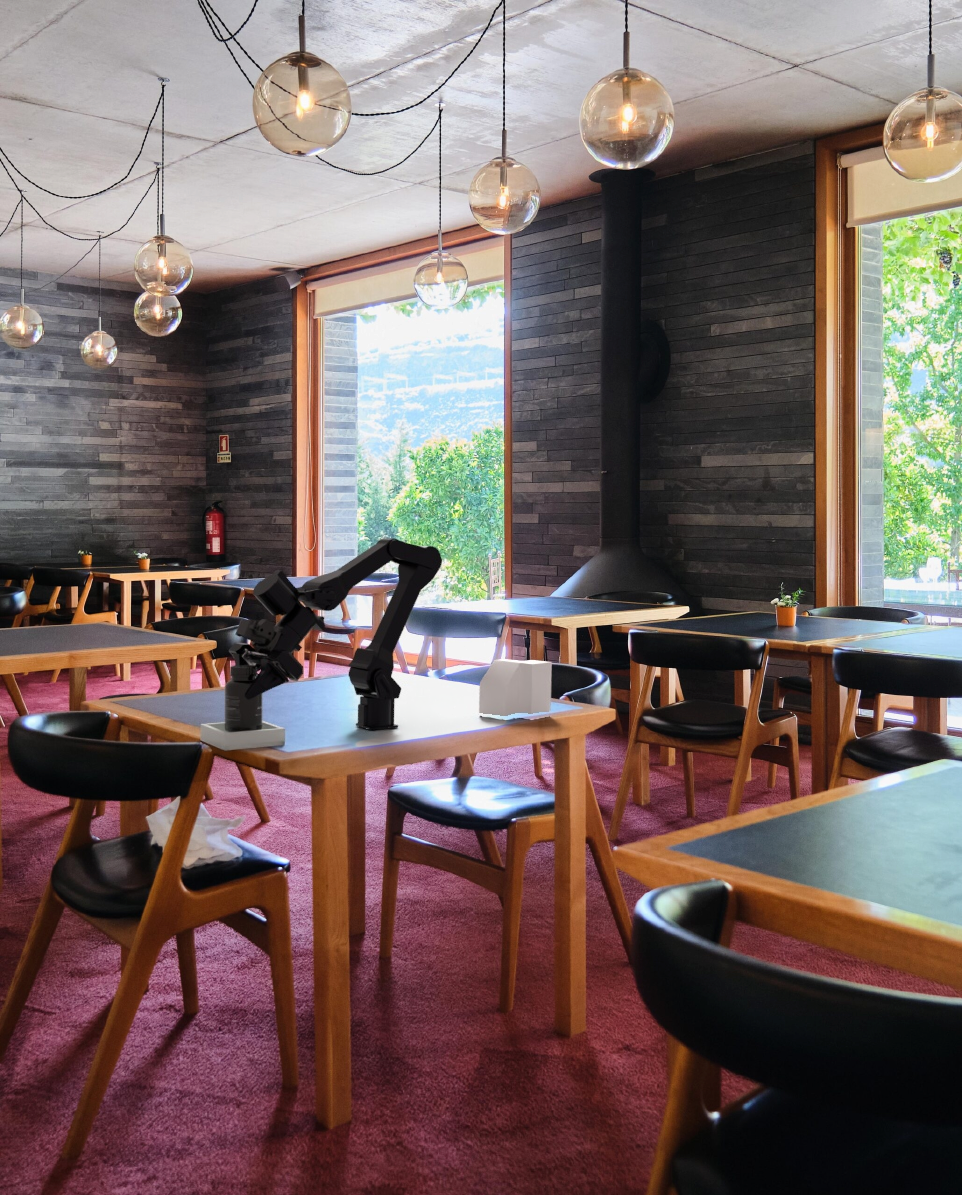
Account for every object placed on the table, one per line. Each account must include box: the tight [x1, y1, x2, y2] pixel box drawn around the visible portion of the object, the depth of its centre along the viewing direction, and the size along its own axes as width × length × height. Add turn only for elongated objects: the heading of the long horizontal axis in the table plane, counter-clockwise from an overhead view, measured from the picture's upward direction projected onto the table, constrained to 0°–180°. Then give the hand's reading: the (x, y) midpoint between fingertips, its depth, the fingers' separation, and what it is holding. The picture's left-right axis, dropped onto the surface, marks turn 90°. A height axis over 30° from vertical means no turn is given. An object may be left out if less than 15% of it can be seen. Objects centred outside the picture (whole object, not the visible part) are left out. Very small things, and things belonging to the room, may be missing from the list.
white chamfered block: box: [478, 658, 553, 716], centre depth 245 cm, size 11×11×12 cm
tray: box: [200, 720, 286, 752], centre depth 209 cm, size 12×12×3 cm
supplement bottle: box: [224, 665, 263, 732], centre depth 208 cm, size 7×7×12 cm
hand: (236, 695), depth 208 cm, fingers closed on supplement bottle, 7 cm apart
